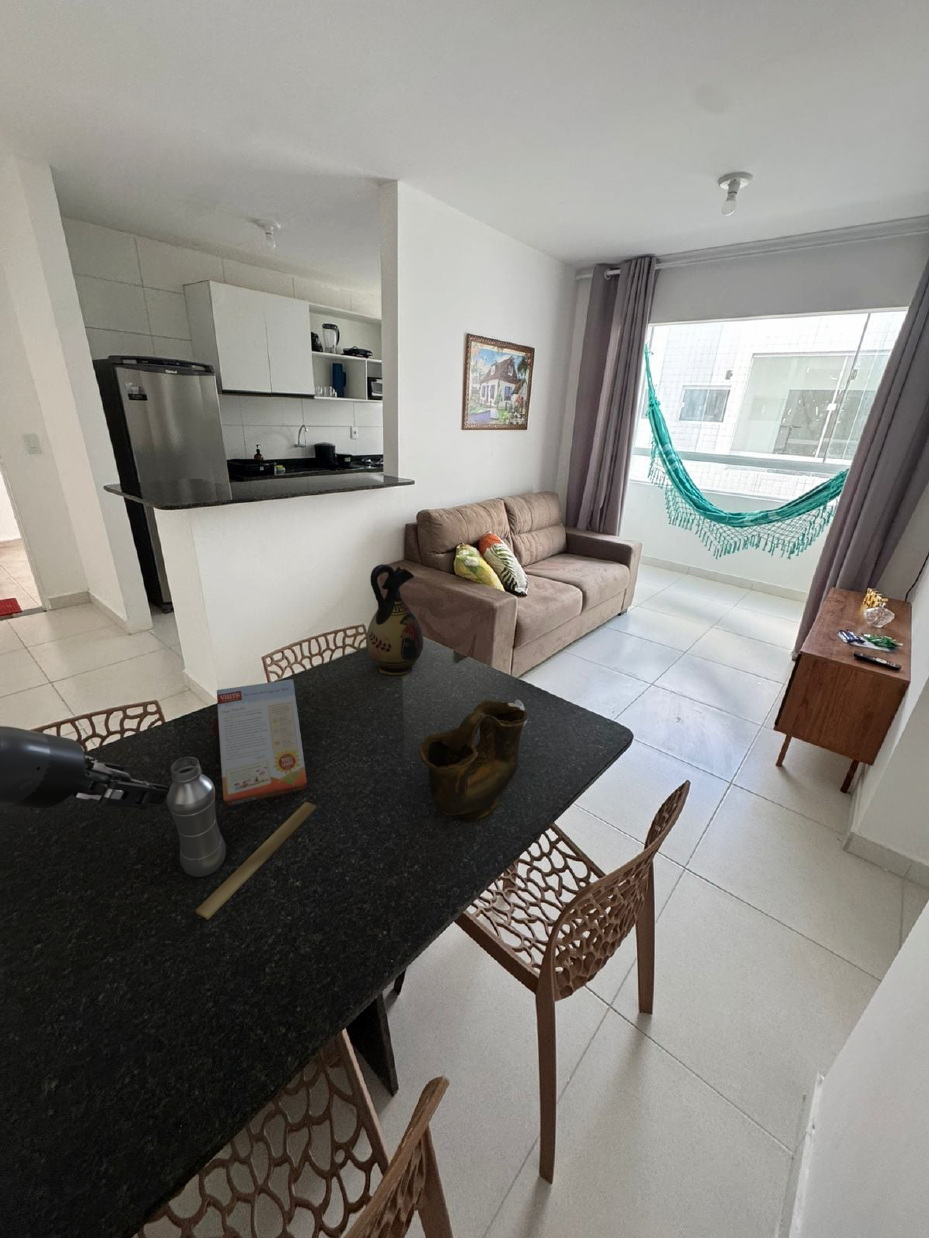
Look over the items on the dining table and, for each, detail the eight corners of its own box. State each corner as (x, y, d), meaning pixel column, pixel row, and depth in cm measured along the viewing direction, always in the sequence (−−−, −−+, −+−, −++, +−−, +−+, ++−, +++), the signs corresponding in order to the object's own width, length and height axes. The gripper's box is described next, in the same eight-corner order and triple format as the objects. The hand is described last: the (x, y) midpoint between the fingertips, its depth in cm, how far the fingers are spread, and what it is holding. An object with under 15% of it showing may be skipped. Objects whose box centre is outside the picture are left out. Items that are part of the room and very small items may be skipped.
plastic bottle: (221, 841, 85) (202, 744, 77) (233, 869, 81) (215, 769, 72) (178, 860, 82) (154, 760, 73) (188, 891, 77) (164, 787, 69)
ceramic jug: (402, 649, 152) (402, 552, 140) (433, 670, 141) (437, 567, 129) (351, 665, 142) (346, 561, 130) (380, 689, 131) (379, 579, 119)
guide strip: (195, 913, 74) (195, 910, 73) (306, 803, 94) (305, 801, 94) (208, 919, 73) (207, 917, 73) (316, 808, 93) (316, 805, 93)
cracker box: (306, 790, 98) (294, 688, 106) (307, 783, 93) (293, 677, 101) (226, 807, 93) (220, 698, 101) (222, 801, 88) (215, 687, 96)
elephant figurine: (519, 738, 115) (521, 716, 113) (488, 726, 119) (490, 704, 117) (531, 724, 121) (534, 703, 118) (501, 713, 124) (504, 692, 122)
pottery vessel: (448, 859, 85) (453, 763, 77) (402, 824, 91) (403, 732, 83) (531, 782, 102) (542, 698, 94) (488, 757, 109) (495, 677, 101)
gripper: (81, 752, 52) (195, 772, 66) (-4, 713, 56) (119, 741, 71) (38, 828, 49) (166, 832, 64) (-47, 781, 54) (90, 795, 68)
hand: (141, 784), depth 67 cm, fingers open, 8 cm apart
